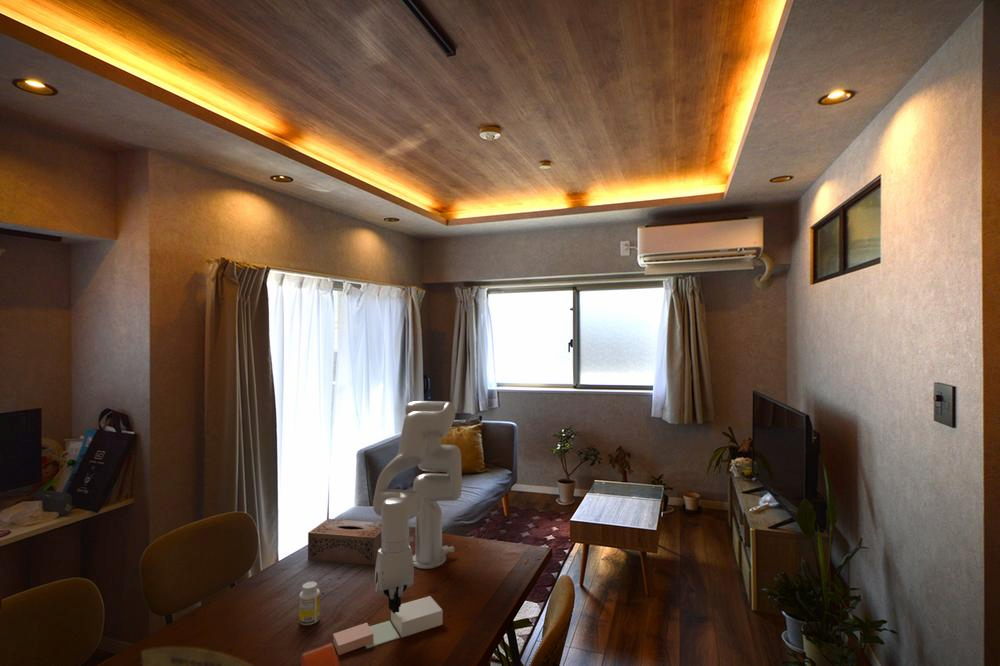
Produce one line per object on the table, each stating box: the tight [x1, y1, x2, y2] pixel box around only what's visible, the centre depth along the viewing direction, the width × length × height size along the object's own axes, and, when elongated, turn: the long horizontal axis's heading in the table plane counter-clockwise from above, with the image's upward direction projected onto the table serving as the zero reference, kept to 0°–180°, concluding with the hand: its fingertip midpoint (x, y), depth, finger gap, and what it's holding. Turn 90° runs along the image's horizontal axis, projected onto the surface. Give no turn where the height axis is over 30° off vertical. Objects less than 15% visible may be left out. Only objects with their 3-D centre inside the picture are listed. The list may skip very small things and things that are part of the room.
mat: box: [364, 620, 401, 649], centre depth 134 cm, size 9×9×1 cm
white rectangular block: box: [390, 595, 444, 638], centre depth 140 cm, size 12×9×4 cm
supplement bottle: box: [298, 581, 321, 626], centre depth 140 cm, size 6×6×10 cm
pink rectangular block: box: [332, 622, 374, 656], centre depth 130 cm, size 9×6×2 cm, turn 121°
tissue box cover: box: [307, 518, 381, 566], centre depth 185 cm, size 26×14×10 cm, turn 80°
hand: (394, 610), depth 136 cm, fingers closed
